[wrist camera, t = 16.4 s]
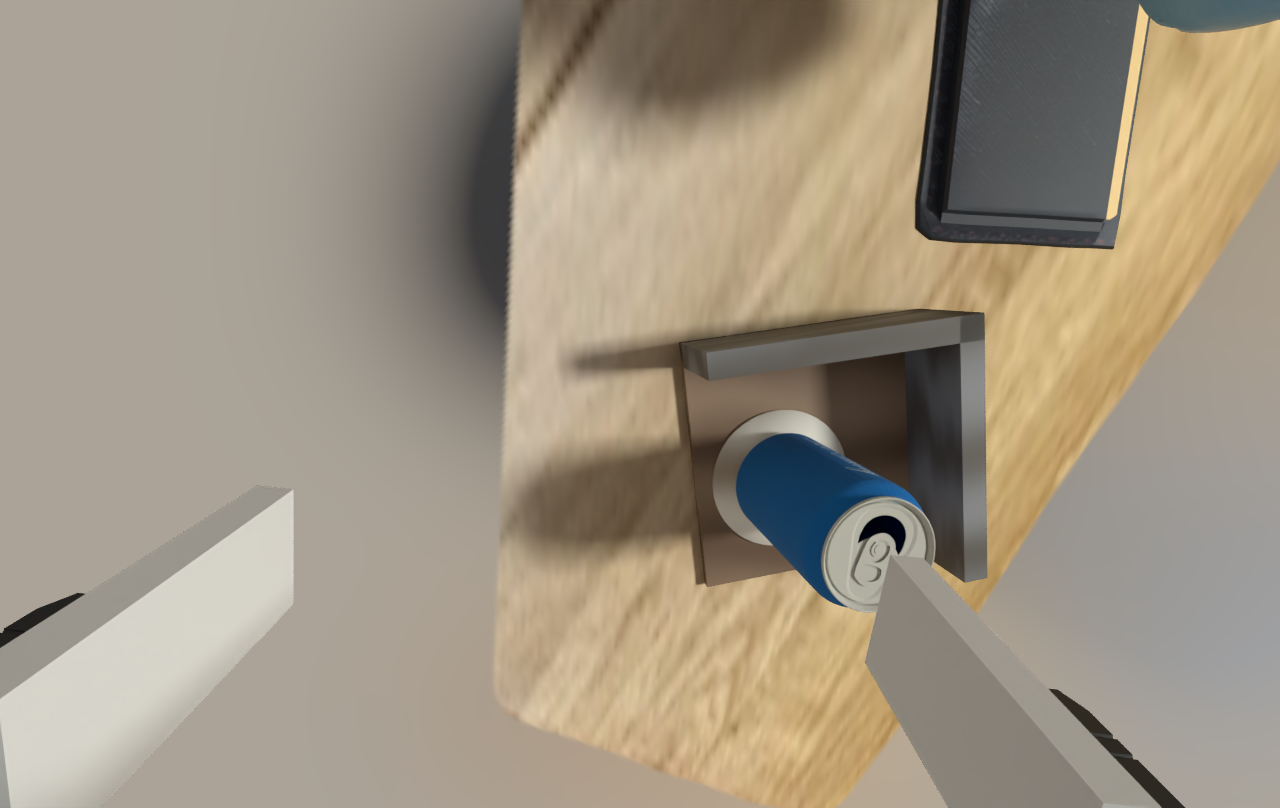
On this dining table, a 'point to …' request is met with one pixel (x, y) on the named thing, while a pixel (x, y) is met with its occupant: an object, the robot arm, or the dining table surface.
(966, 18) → the dark grey flat rectangle
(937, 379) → the corner tray
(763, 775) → the dining table surface
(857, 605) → the beverage can
